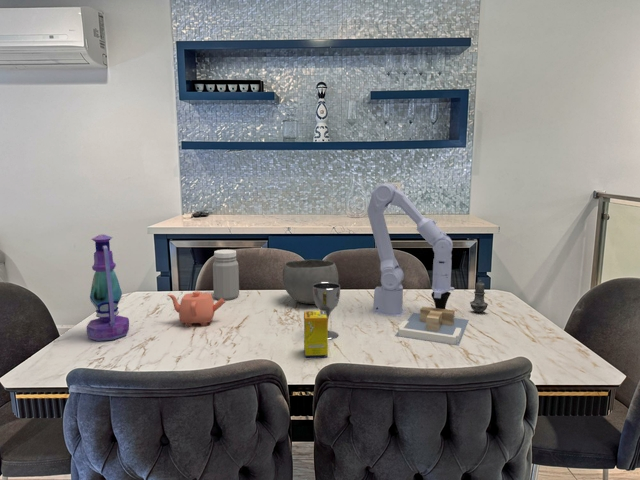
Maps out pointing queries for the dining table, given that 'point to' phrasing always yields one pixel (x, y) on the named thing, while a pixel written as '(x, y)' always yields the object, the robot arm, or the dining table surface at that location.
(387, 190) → the robot arm
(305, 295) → the bowl
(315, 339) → the supplement box
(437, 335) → the dock
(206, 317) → the teapot
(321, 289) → the silver goblet
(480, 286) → the salt shaker
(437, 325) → the t block
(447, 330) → the board
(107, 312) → the lantern
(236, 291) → the jar
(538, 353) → the dining table surface
